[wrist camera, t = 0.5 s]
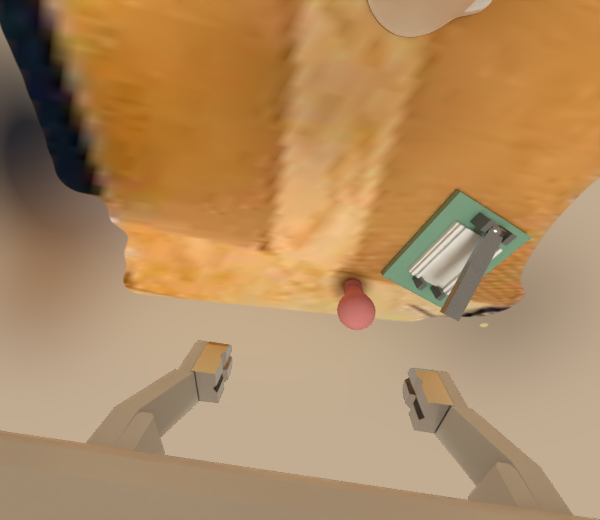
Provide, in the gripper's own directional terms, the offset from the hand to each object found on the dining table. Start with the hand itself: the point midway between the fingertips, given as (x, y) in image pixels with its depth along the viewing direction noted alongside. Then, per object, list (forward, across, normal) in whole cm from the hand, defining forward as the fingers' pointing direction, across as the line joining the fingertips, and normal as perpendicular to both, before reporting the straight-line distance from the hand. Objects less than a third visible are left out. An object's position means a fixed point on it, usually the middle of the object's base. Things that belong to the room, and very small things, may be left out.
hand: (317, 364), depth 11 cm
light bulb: (+39, -10, +18) cm, 44 cm away
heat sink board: (+37, -26, +8) cm, 46 cm away
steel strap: (+30, -26, +8) cm, 40 cm away
